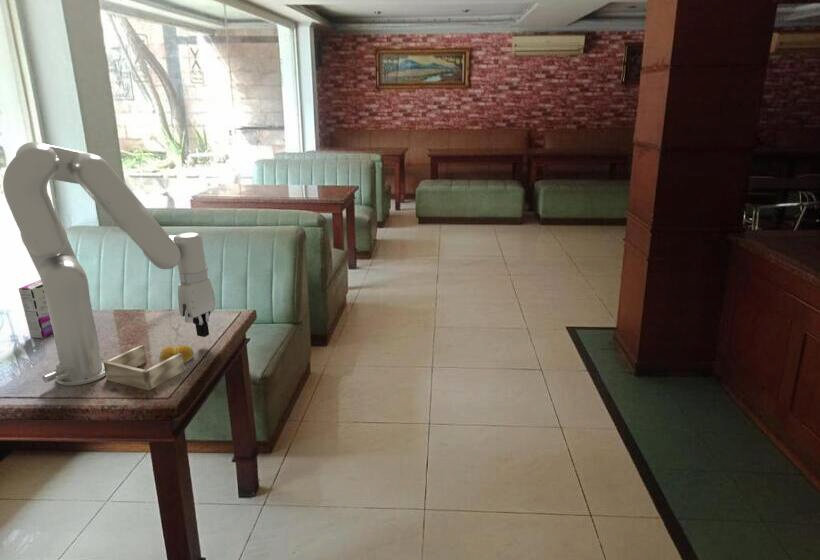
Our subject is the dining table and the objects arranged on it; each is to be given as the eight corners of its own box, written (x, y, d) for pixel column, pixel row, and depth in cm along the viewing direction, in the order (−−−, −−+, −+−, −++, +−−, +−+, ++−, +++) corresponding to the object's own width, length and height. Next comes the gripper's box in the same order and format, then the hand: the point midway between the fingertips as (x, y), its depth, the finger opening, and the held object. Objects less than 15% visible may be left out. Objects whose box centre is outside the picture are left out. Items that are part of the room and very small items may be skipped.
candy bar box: (56, 325, 189) (46, 277, 184) (69, 325, 188) (59, 277, 183) (29, 338, 178) (17, 287, 173) (43, 339, 177) (32, 288, 173)
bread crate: (148, 390, 145) (145, 372, 143) (106, 379, 151) (103, 362, 149) (184, 370, 155) (182, 353, 154) (144, 361, 161) (141, 344, 160)
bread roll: (194, 363, 160) (192, 349, 159) (159, 368, 157) (157, 354, 156) (194, 351, 168) (193, 338, 166) (161, 355, 165) (159, 343, 164)
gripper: (202, 267, 172) (211, 324, 178) (163, 282, 159) (174, 343, 165) (222, 270, 169) (230, 327, 175) (184, 285, 156) (194, 347, 162)
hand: (203, 335), depth 170 cm, fingers closed
